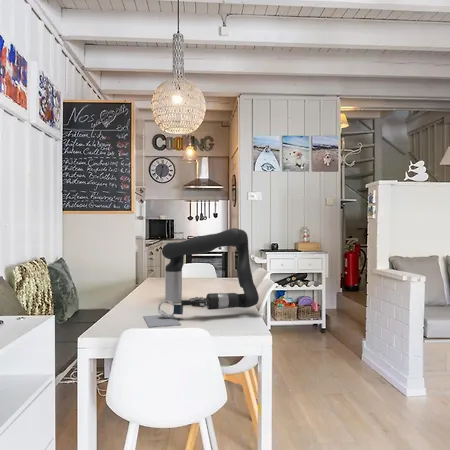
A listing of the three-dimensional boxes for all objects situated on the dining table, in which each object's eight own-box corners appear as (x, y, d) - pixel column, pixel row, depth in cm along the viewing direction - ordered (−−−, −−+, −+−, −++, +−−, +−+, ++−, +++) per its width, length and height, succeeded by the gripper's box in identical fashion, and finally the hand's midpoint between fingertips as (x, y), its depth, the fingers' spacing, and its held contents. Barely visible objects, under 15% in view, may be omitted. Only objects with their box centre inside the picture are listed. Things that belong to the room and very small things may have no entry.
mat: (143, 316, 194) (143, 316, 194) (172, 315, 198) (172, 314, 198) (148, 327, 175) (148, 326, 175) (181, 325, 179) (181, 324, 179)
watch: (182, 318, 192) (159, 317, 193) (183, 301, 194) (160, 300, 195) (179, 318, 186) (156, 317, 188) (180, 300, 188) (157, 299, 190)
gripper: (213, 290, 201) (178, 292, 196) (221, 295, 188) (184, 297, 183) (213, 306, 201) (178, 308, 196) (221, 311, 188) (184, 314, 183)
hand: (181, 303), depth 189 cm, fingers closed
